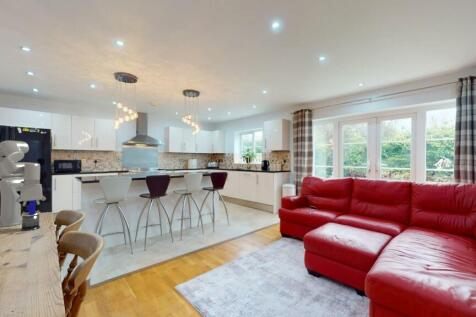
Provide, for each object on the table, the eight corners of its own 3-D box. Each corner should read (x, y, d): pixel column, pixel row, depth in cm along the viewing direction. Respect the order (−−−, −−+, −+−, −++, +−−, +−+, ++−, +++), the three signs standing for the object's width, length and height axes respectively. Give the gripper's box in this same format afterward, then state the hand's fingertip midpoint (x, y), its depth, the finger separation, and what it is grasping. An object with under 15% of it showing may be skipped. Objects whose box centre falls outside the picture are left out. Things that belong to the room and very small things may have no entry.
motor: (20, 228, 140) (20, 211, 141) (39, 226, 147) (39, 209, 147) (21, 232, 134) (21, 214, 134) (40, 229, 141) (41, 211, 141)
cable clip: (26, 210, 144) (26, 201, 144) (35, 209, 147) (36, 200, 147) (25, 214, 135) (25, 204, 135) (35, 213, 138) (35, 203, 138)
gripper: (13, 183, 132) (12, 214, 132) (50, 182, 145) (49, 210, 144) (12, 182, 137) (11, 212, 137) (48, 181, 150) (47, 208, 149)
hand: (31, 211), depth 141 cm, fingers closed on cable clip, 4 cm apart
